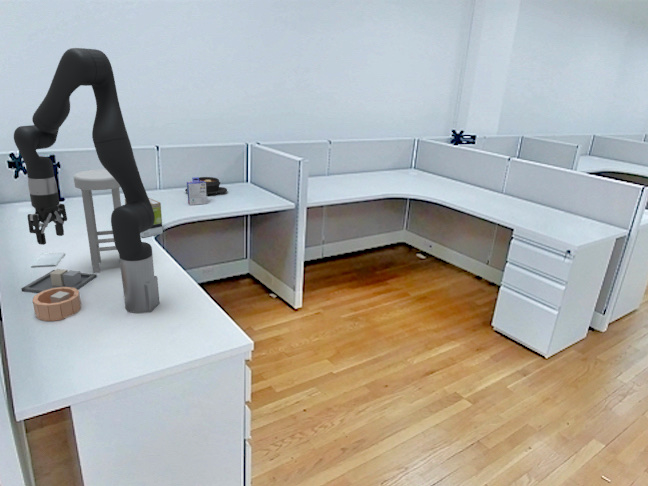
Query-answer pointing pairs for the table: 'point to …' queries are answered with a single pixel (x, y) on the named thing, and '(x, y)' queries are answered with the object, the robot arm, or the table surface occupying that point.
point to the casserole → (212, 185)
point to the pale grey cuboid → (59, 297)
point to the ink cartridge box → (196, 192)
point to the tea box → (157, 224)
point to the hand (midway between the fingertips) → (51, 239)
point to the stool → (86, 184)
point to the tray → (46, 284)
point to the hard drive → (48, 260)
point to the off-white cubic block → (58, 277)
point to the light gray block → (72, 278)
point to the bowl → (56, 304)
